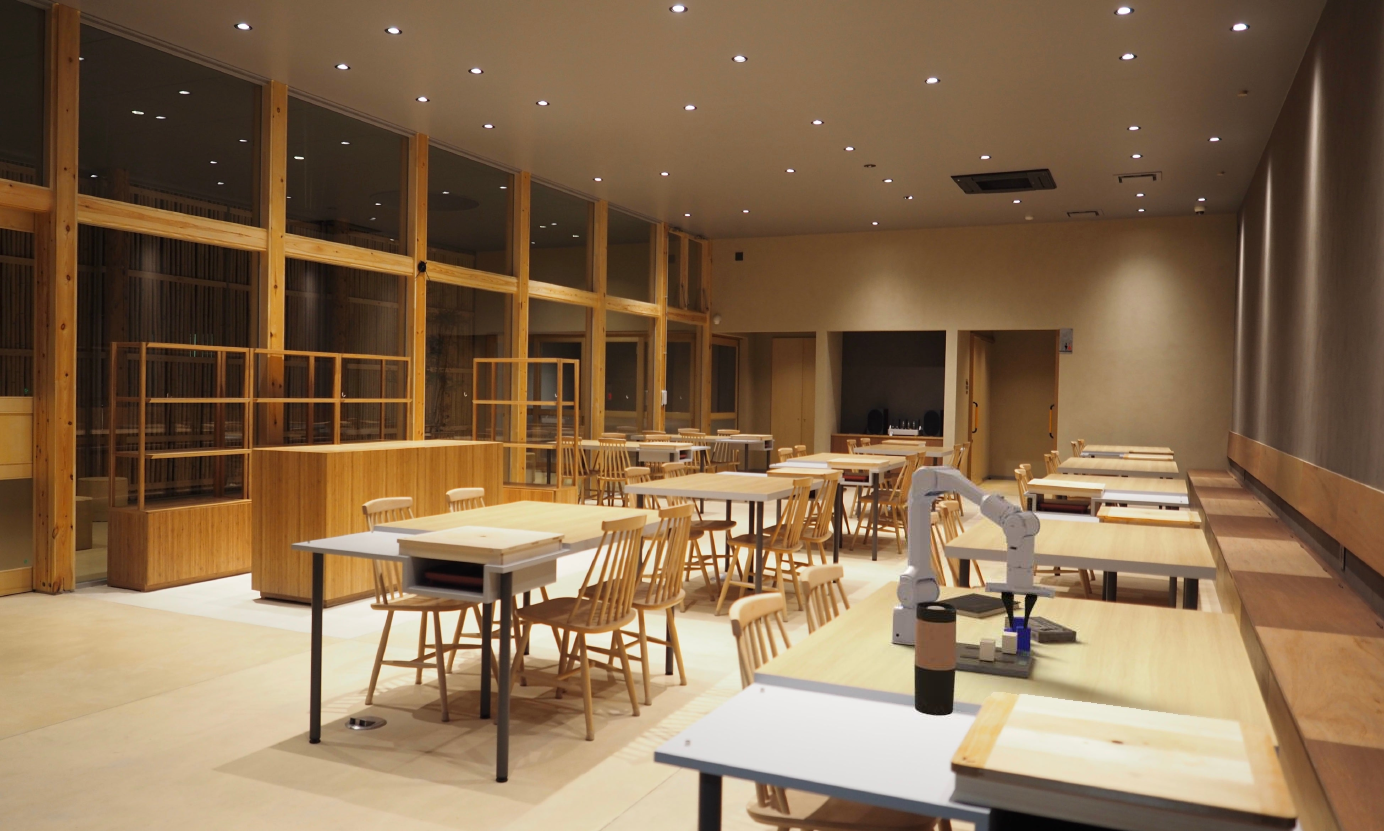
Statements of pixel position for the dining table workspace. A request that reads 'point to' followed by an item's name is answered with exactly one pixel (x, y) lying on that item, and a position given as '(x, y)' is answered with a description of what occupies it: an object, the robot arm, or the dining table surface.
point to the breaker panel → (1000, 666)
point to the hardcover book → (977, 605)
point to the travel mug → (935, 658)
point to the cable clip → (1021, 634)
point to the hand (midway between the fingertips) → (1018, 627)
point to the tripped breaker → (987, 649)
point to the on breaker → (1009, 642)
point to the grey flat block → (1047, 631)
